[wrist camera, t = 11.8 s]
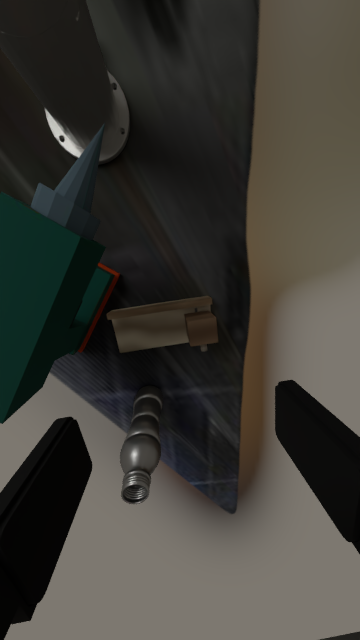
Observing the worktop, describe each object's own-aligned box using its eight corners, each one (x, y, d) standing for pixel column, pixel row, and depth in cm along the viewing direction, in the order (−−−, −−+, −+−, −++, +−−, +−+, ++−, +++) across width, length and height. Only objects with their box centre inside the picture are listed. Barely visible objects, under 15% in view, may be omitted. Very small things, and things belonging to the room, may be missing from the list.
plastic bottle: (168, 388, 43) (170, 485, 23) (154, 409, 44) (144, 517, 25) (144, 376, 41) (125, 467, 22) (130, 398, 43) (100, 503, 23)
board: (111, 310, 37) (106, 313, 34) (207, 295, 38) (211, 297, 34) (121, 350, 39) (117, 357, 36) (211, 335, 40) (215, 341, 37)
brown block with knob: (184, 313, 37) (187, 321, 31) (208, 310, 37) (216, 317, 31) (188, 343, 38) (191, 355, 32) (211, 339, 38) (219, 351, 33)
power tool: (116, 184, 32) (37, 46, 12) (152, 207, 33) (131, 116, 14) (50, 335, 38) (-72, 402, 18) (83, 350, 39) (0, 427, 20)
